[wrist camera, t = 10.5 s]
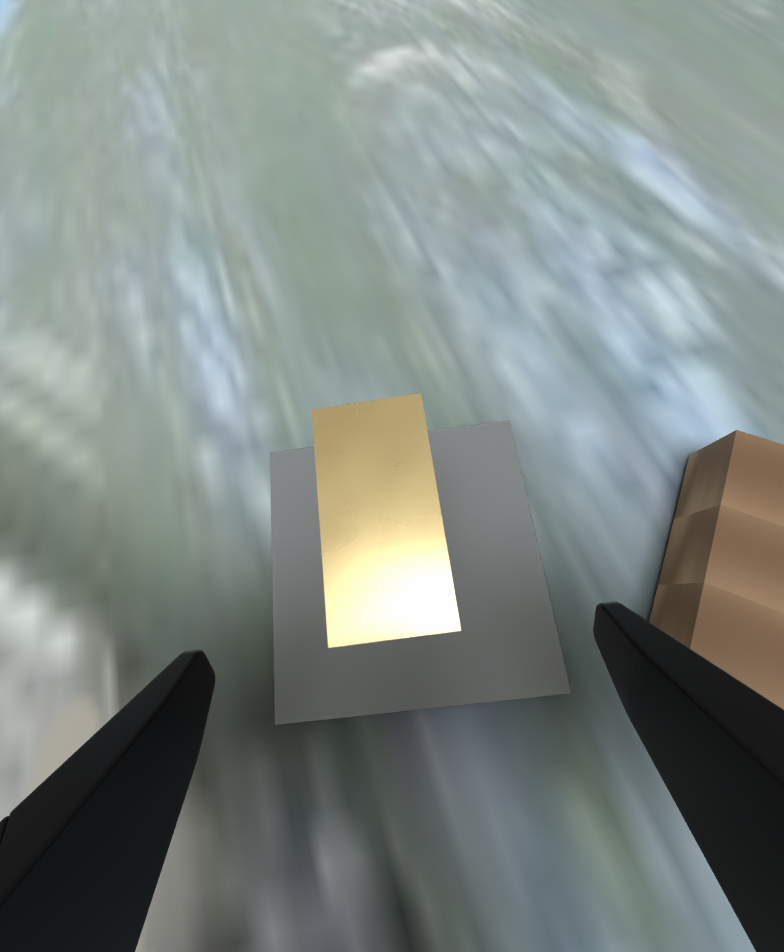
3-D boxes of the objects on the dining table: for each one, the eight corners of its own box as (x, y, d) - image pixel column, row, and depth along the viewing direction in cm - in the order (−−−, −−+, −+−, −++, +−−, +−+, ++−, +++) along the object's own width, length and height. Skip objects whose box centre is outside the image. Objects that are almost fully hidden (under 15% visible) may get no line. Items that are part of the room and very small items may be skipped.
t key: (440, 612, 17) (461, 630, 7) (382, 619, 17) (327, 648, 7) (422, 500, 18) (420, 393, 9) (369, 507, 18) (311, 409, 9)
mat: (562, 687, 16) (571, 693, 15) (283, 717, 17) (274, 724, 16) (505, 428, 20) (509, 420, 19) (277, 459, 21) (270, 452, 20)
